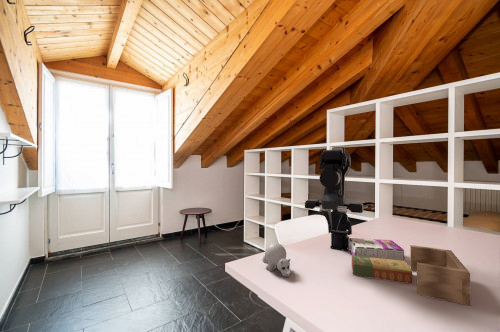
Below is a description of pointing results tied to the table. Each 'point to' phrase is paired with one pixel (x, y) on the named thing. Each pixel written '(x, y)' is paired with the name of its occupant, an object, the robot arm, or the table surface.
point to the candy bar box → (376, 248)
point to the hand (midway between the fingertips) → (333, 230)
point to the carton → (382, 269)
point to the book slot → (440, 274)
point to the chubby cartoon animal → (277, 258)
